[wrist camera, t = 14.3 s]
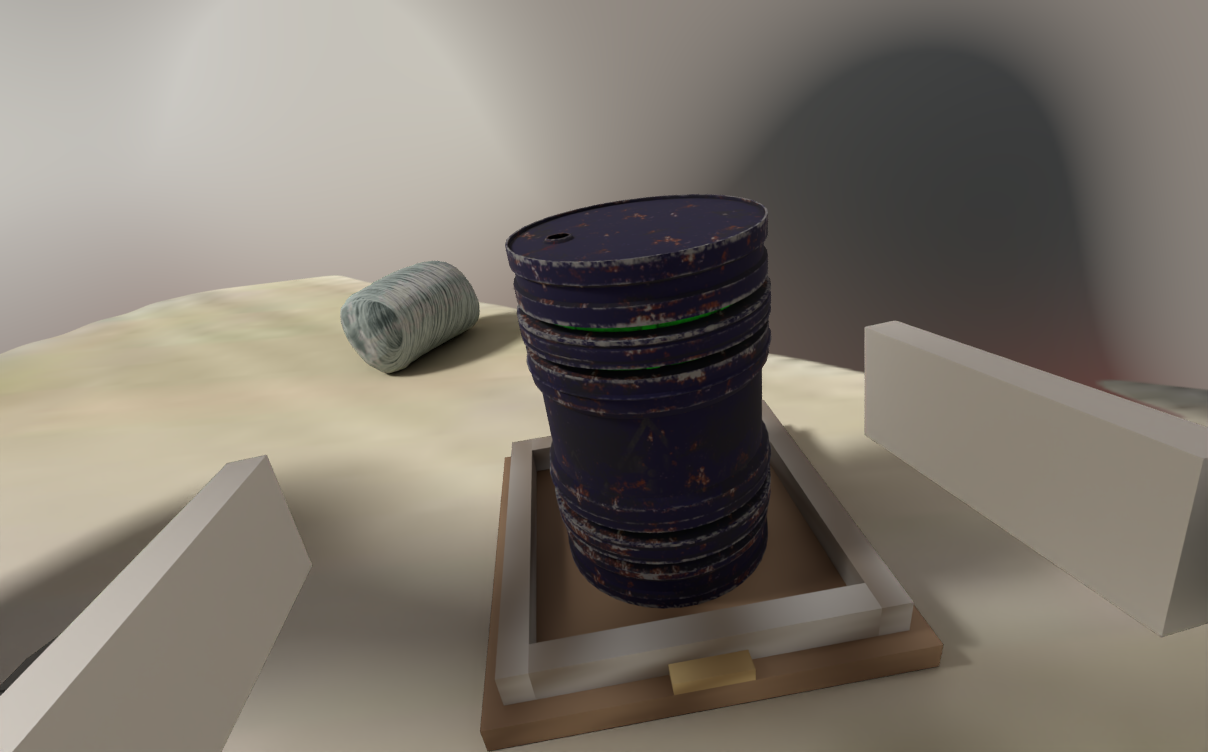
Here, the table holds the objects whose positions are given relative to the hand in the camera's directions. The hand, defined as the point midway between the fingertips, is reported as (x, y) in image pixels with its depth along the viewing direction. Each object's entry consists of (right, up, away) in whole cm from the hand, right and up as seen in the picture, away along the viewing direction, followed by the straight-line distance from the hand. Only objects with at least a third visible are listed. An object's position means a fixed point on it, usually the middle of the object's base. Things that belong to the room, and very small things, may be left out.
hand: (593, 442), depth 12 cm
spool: (-18, +4, +44) cm, 48 cm away
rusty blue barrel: (+3, -6, +16) cm, 17 cm away
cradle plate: (+3, -7, +16) cm, 18 cm away
